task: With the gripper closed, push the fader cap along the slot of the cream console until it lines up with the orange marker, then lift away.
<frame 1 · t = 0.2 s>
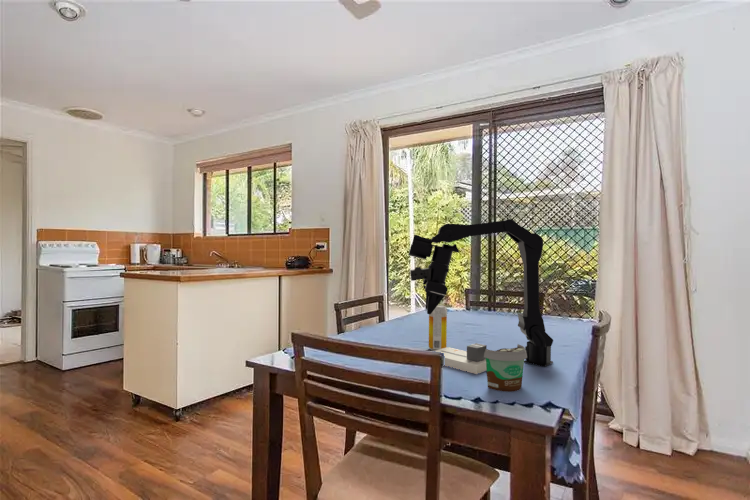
hand: (427, 311, 127), 15 cm above the table, tool pointing down, fingers open, 9 cm apart
food container: (510, 389, 102), on the table
fader console: (460, 363, 123), on the table
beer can: (437, 350, 140), on the table
fader cap: (476, 352, 119), point 4 cm above the table, slide at 0.0 cm
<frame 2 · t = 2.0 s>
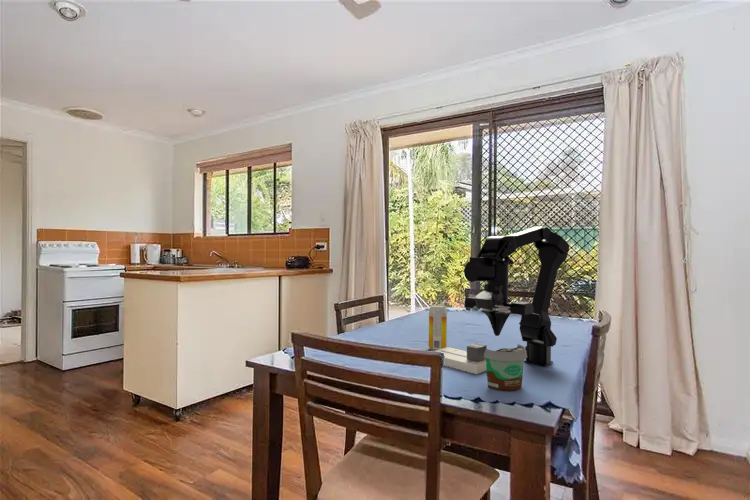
hand: (497, 335, 115), 11 cm above the table, tool pointing down, fingers closed
nothing on the table moved.
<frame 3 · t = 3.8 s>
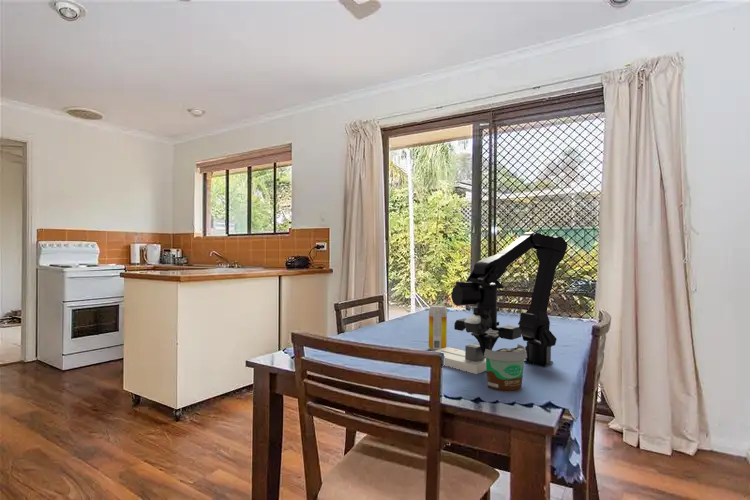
hand: (486, 358, 117), 3 cm above the table, tool pointing down, fingers closed
fader cap: (475, 352, 120), point 4 cm above the table, slide at 0.5 cm, touching gripper
everything else where it was.
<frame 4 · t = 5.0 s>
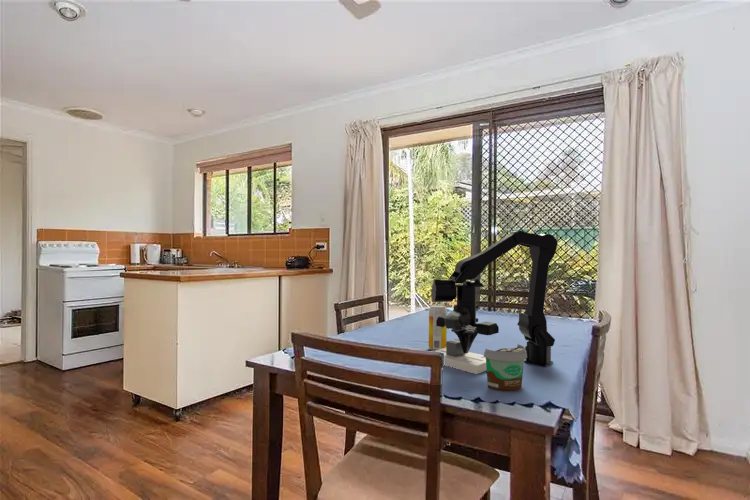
hand: (465, 353, 122), 3 cm above the table, tool pointing down, fingers closed
fader cap: (455, 347, 125), point 4 cm above the table, slide at 7.4 cm, touching gripper
everything else where it was.
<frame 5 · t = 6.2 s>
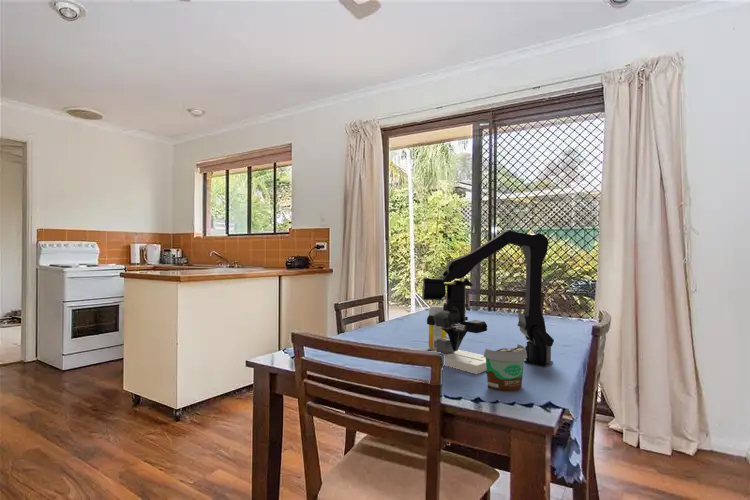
hand: (455, 350, 125), 3 cm above the table, tool pointing down, fingers closed
fader cap: (445, 345, 127), point 4 cm above the table, slide at 11.1 cm, touching gripper
everything else where it was.
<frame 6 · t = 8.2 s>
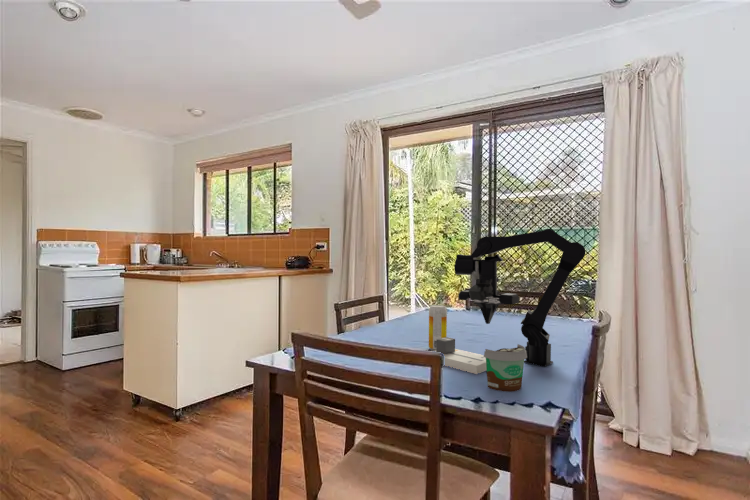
hand: (487, 323, 131), 11 cm above the table, tool pointing down, fingers closed
fader cap: (445, 345, 127), point 4 cm above the table, slide at 11.1 cm
everything else where it was.
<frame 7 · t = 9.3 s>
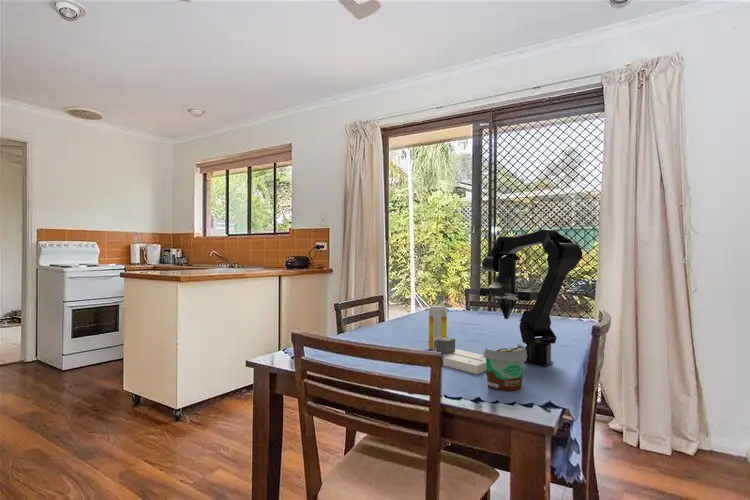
hand: (506, 318, 138), 11 cm above the table, tool pointing down, fingers closed
nothing on the table moved.
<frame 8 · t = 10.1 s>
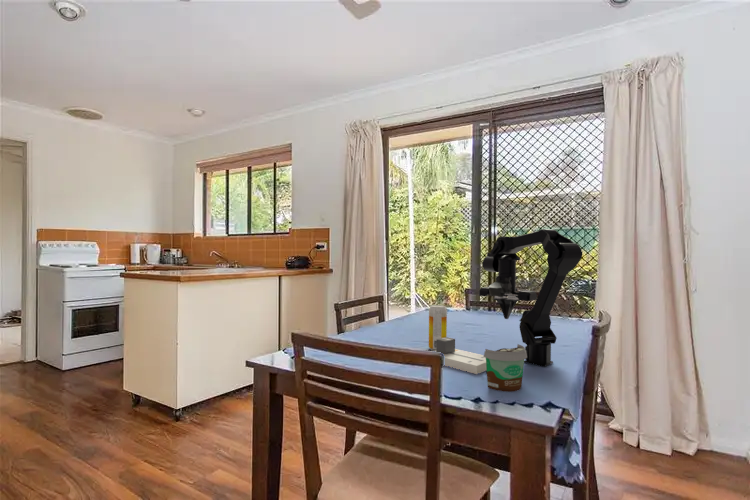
hand: (506, 318, 138), 11 cm above the table, tool pointing down, fingers closed
nothing on the table moved.
at the end: fader cap slide at 11.1 cm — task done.
